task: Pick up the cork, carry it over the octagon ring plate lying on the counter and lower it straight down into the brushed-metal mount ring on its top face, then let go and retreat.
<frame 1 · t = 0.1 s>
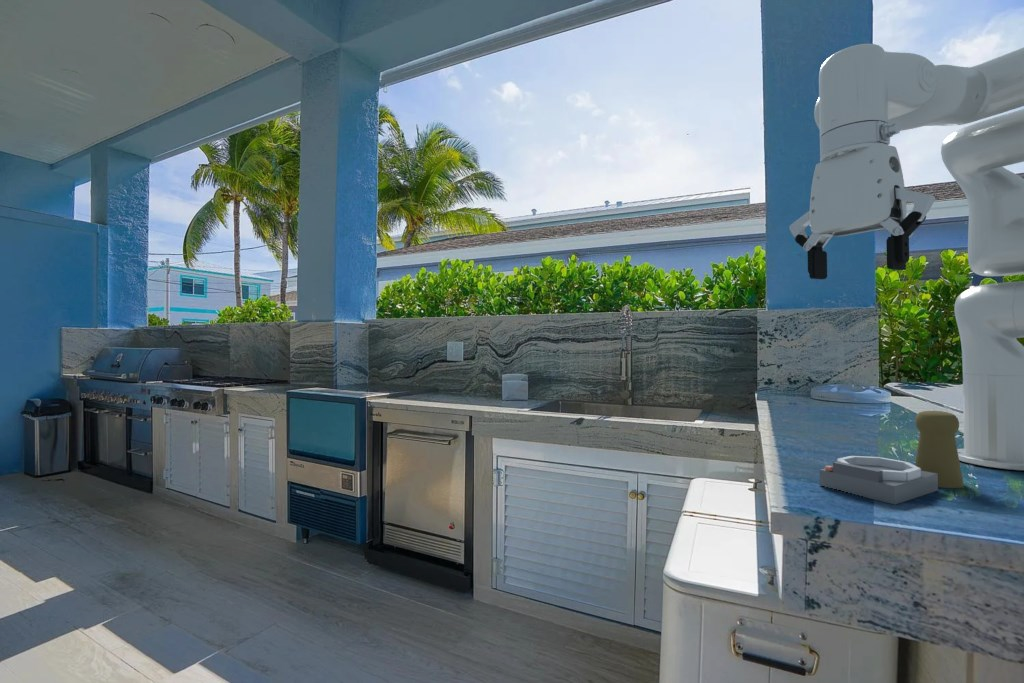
hand: (855, 274, 66), 31 cm above the countertop, tool pointing down, fingers open, 9 cm apart
octagon ring plate: (877, 488, 74), on the countertop
cork: (937, 483, 76), on the countertop
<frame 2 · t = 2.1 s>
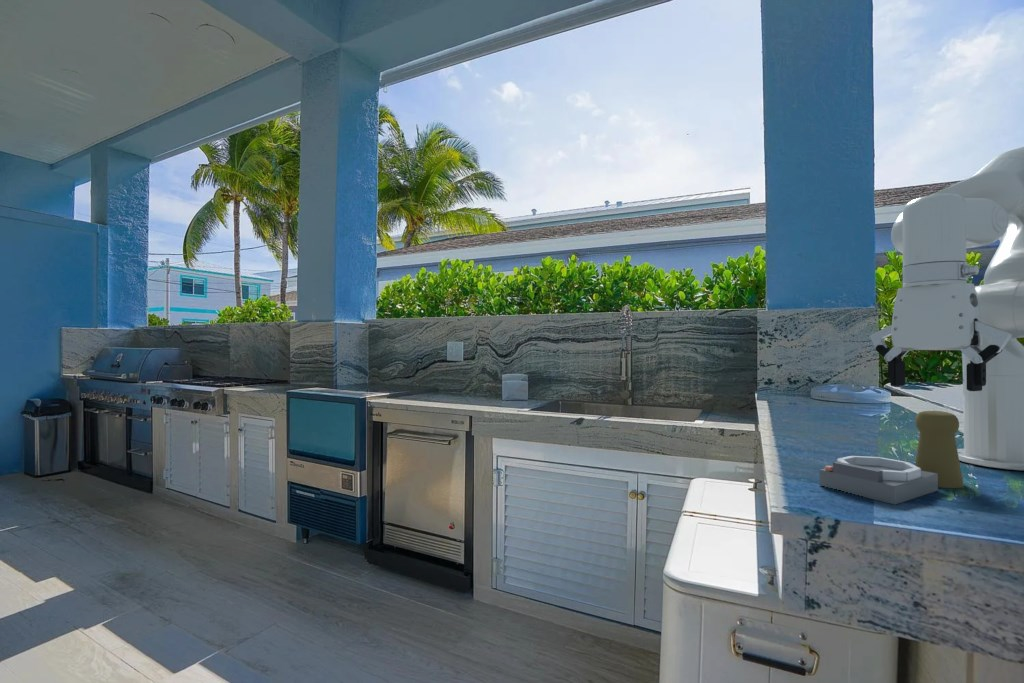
hand: (934, 388, 76), 15 cm above the countertop, tool pointing down, fingers open, 9 cm apart
nothing on the countertop moved.
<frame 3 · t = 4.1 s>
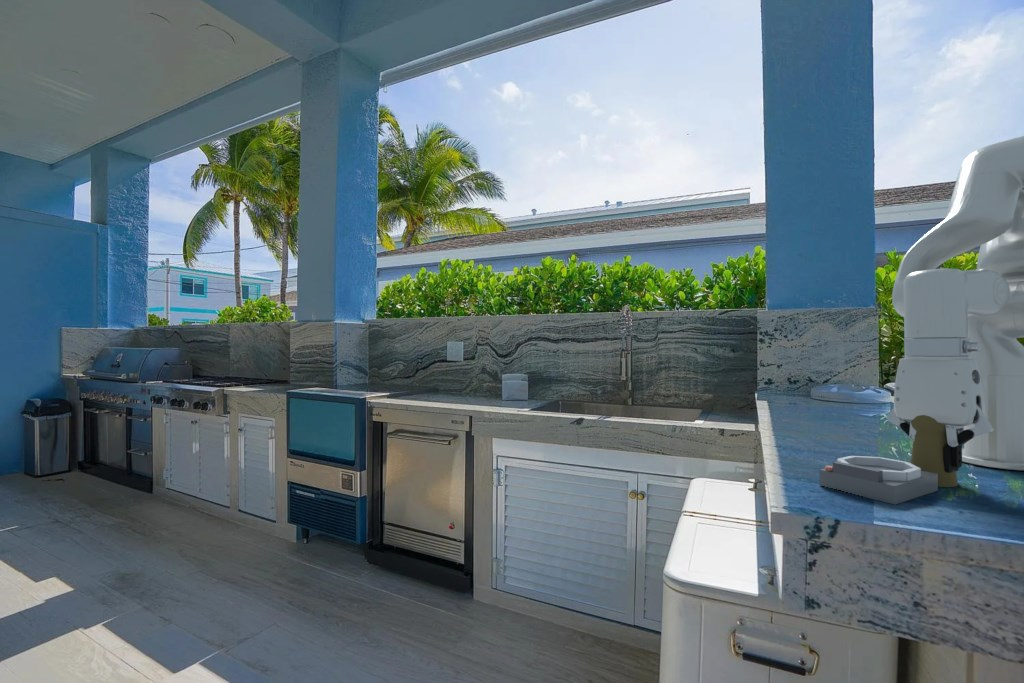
hand: (937, 467, 76), 2 cm above the countertop, tool pointing down, fingers closed on cork, 2 cm apart
cork: (932, 482, 77), on the countertop, touching gripper
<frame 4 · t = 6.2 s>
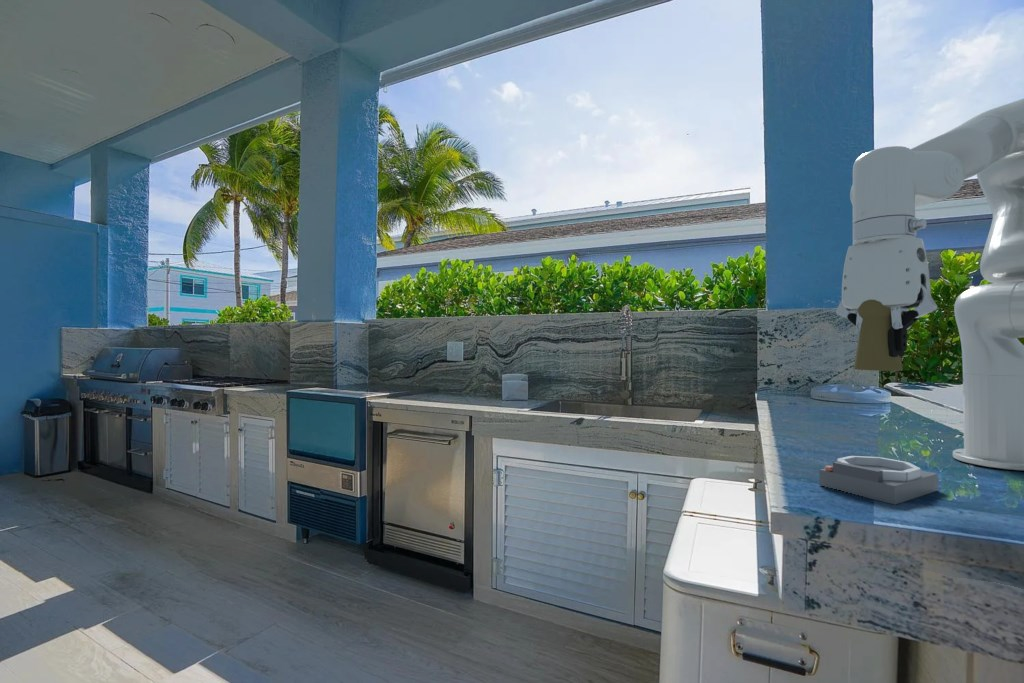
hand: (882, 355, 74), 20 cm above the countertop, tool pointing down, fingers closed on cork, 2 cm apart
cork: (877, 371, 75), point 17 cm above the countertop, touching gripper
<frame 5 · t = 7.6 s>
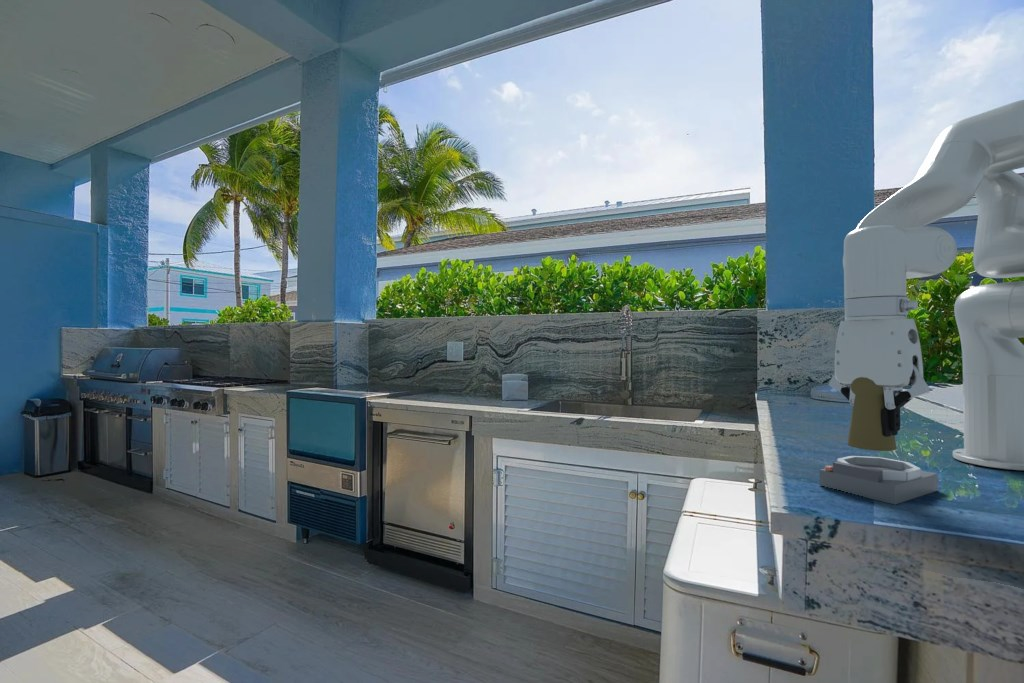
hand: (876, 432, 74), 8 cm above the countertop, tool pointing down, fingers closed on cork, 2 cm apart
cork: (871, 447, 75), point 6 cm above the countertop, touching gripper
when the fingers open (6 cm above the countertop, at t = 8.3 s): cork stays where it is, resting on octagon ring plate.
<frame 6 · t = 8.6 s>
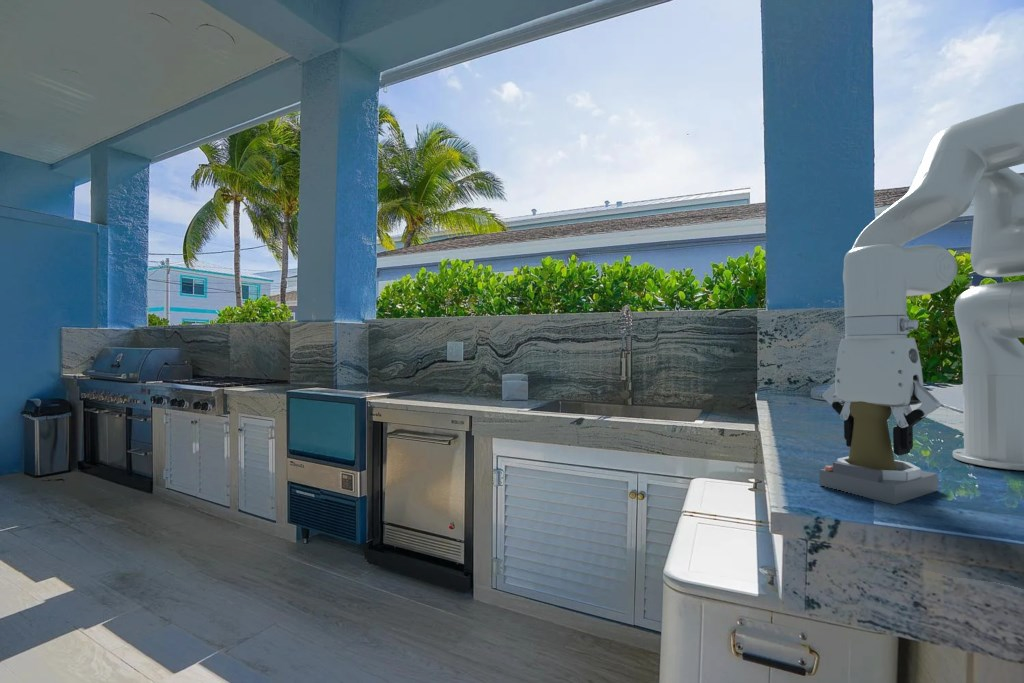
hand: (877, 448, 74), 6 cm above the countertop, tool pointing down, fingers open, 5 cm apart
cork: (871, 471, 75), point 2 cm above the countertop, touching octagon ring plate, gripper
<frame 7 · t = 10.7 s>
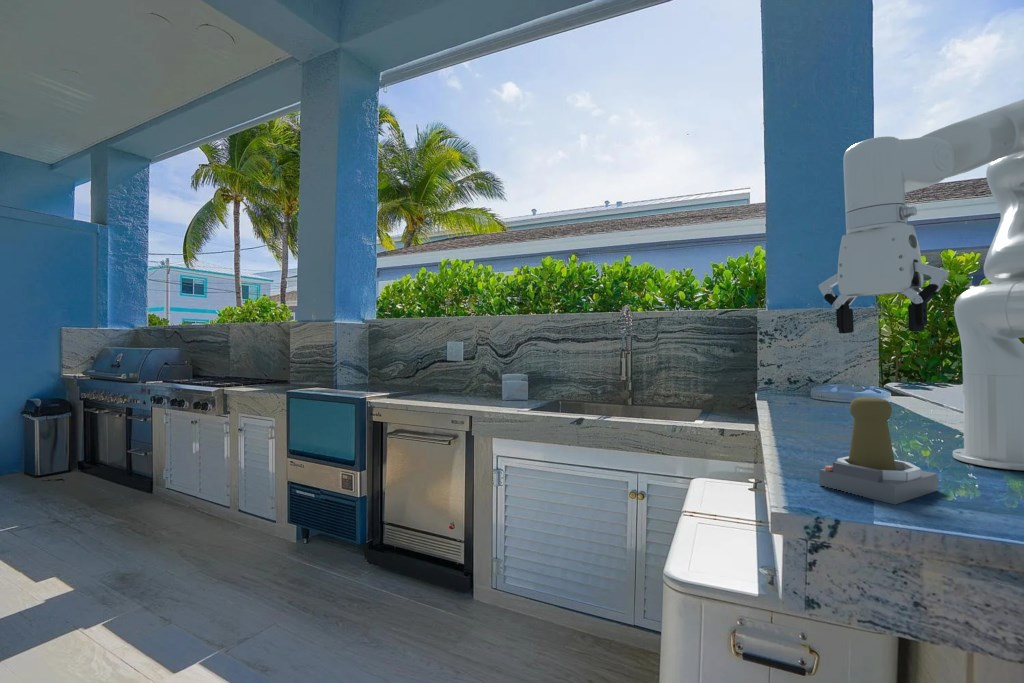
hand: (879, 332, 77), 23 cm above the countertop, tool pointing down, fingers open, 9 cm apart
cork: (871, 471, 75), point 2 cm above the countertop, touching octagon ring plate
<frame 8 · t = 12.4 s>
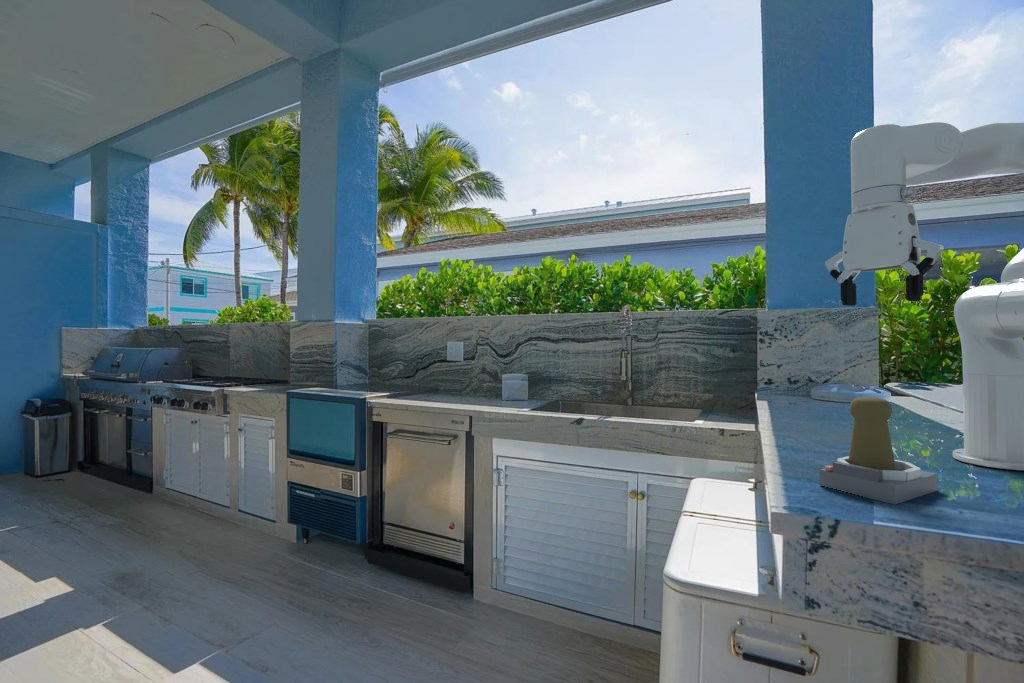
hand: (879, 303, 84), 28 cm above the countertop, tool pointing down, fingers open, 9 cm apart
nothing on the countertop moved.
at the end: cork 0.9 cm off-centre on the octagon ring plate, point 2.3 cm above the octagon ring plate's base; cork tilted 0°; the gripper is holding nothing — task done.
